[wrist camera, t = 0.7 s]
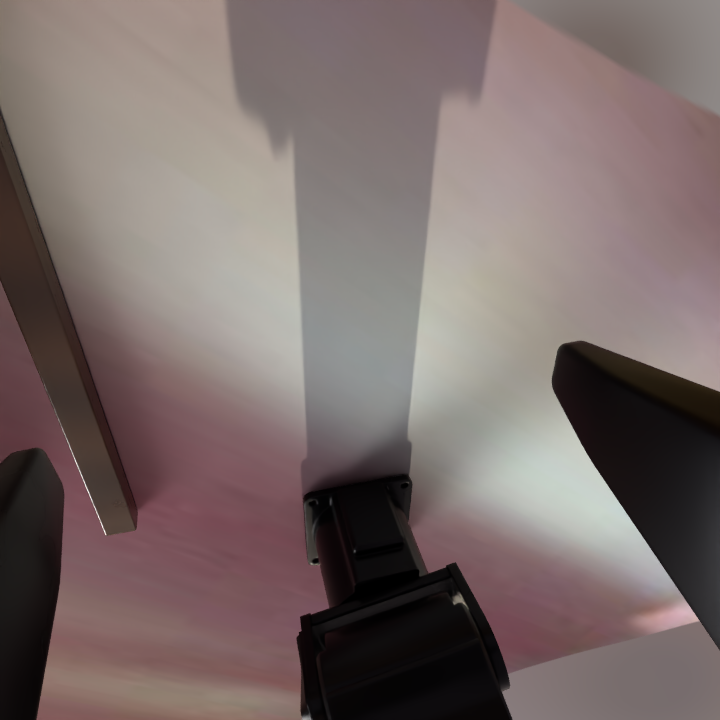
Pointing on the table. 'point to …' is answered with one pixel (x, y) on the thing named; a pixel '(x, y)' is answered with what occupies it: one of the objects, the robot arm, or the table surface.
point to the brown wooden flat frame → (58, 349)
